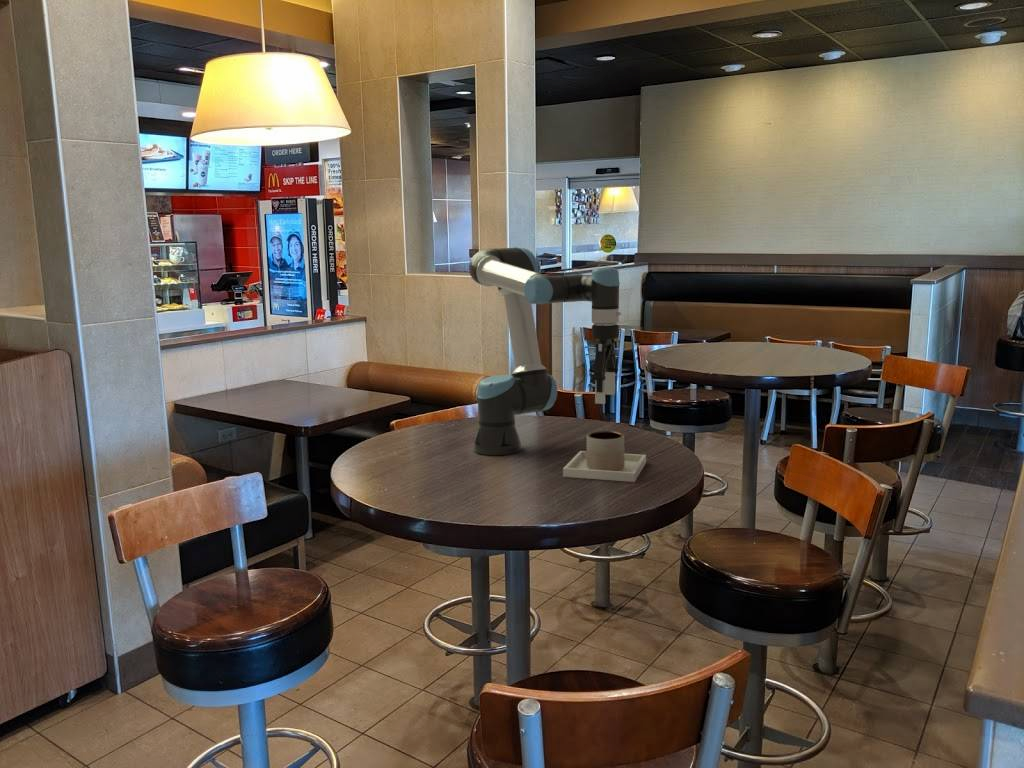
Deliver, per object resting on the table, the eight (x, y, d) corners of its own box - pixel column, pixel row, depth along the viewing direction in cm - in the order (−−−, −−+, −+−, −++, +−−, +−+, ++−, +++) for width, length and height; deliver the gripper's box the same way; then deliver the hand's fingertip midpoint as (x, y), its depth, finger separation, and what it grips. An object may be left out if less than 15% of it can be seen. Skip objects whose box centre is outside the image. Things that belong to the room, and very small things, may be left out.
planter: (580, 470, 223) (580, 437, 221) (594, 460, 232) (594, 429, 231) (617, 474, 218) (617, 441, 216) (629, 464, 227) (629, 432, 226)
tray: (563, 476, 219) (562, 468, 219) (580, 458, 238) (579, 450, 237) (634, 482, 213) (634, 473, 212) (646, 462, 231) (646, 454, 231)
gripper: (609, 328, 205) (609, 408, 209) (626, 319, 229) (626, 391, 232) (581, 328, 208) (582, 406, 211) (601, 319, 231) (601, 390, 235)
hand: (605, 398), depth 222 cm, fingers open, 13 cm apart
